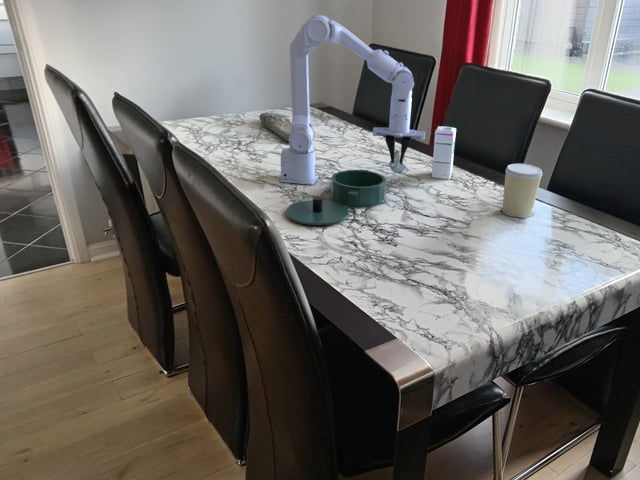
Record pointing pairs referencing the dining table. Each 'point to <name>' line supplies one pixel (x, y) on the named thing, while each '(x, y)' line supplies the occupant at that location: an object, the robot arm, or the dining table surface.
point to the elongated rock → (277, 124)
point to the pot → (358, 188)
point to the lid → (317, 212)
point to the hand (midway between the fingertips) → (396, 162)
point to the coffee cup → (520, 189)
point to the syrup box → (443, 152)
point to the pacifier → (398, 165)
